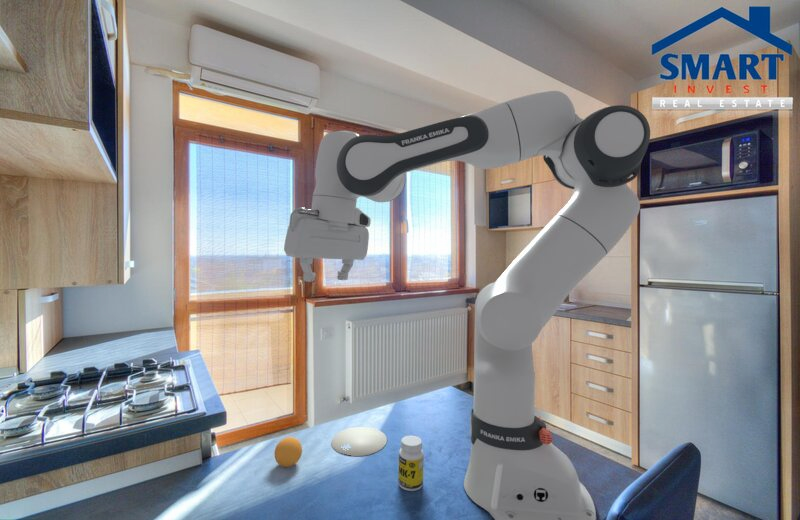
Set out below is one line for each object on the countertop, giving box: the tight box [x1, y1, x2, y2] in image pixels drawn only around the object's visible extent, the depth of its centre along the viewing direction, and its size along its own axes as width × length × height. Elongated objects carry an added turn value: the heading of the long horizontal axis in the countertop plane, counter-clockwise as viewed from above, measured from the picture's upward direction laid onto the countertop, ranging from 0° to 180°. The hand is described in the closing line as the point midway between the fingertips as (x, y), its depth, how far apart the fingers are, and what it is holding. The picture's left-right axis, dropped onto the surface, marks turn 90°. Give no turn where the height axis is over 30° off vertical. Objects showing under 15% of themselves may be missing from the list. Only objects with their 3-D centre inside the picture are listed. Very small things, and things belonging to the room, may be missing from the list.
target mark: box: [331, 426, 388, 457], centre depth 82 cm, size 13×13×1 cm
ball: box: [273, 436, 303, 468], centre depth 72 cm, size 6×6×6 cm
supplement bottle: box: [397, 435, 425, 492], centre depth 67 cm, size 5×5×8 cm
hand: (326, 280), depth 71 cm, fingers open, 8 cm apart
